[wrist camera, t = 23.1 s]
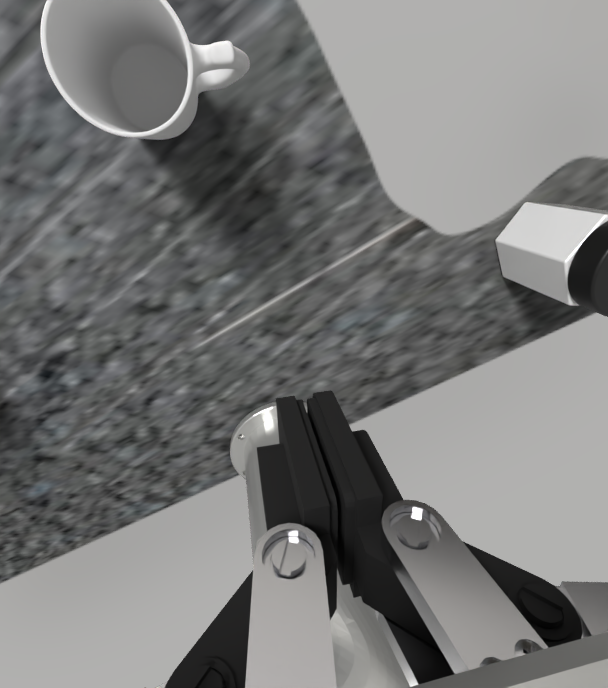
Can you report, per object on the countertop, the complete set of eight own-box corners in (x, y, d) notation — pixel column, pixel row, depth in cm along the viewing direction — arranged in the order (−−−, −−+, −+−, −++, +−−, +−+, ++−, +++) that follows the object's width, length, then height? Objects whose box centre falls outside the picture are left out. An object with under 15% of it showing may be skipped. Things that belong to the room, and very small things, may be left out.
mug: (124, 148, 30) (74, 145, 20) (92, 42, 27) (12, -29, 16) (250, 132, 31) (267, 121, 21) (233, 28, 28) (243, -46, 18)
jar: (523, 293, 44) (619, 338, 33) (478, 257, 41) (570, 293, 30) (581, 226, 41) (704, 250, 31) (538, 181, 38) (661, 191, 28)
